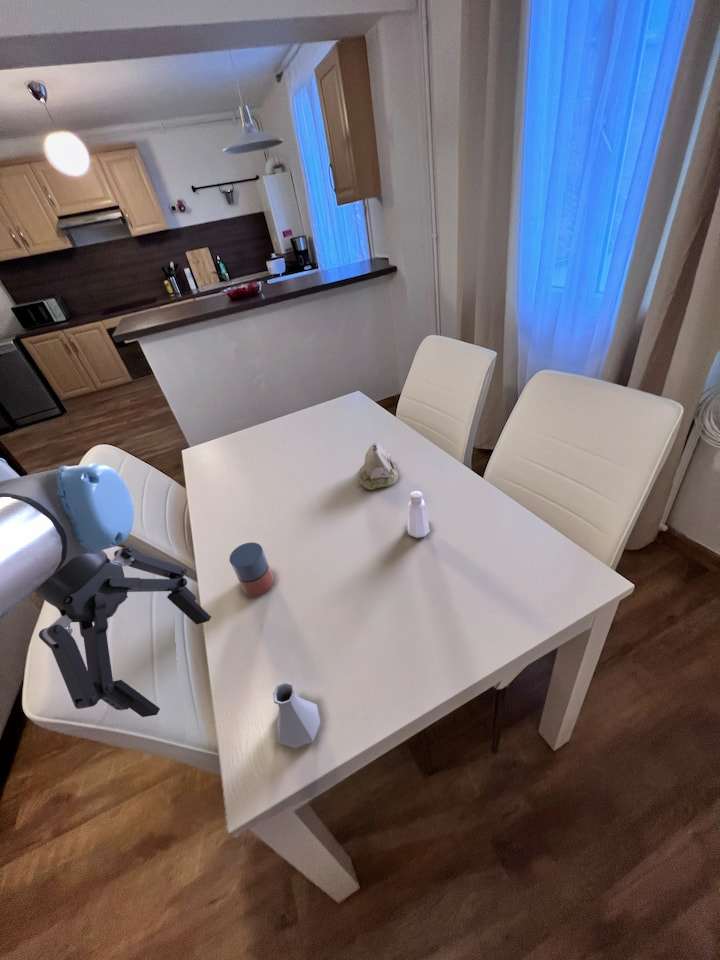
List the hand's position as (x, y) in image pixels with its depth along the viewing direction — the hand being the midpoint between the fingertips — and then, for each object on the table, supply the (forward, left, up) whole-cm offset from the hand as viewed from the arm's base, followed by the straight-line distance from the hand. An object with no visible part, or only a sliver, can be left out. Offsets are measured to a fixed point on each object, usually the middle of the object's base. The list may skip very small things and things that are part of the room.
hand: (180, 662), depth 55 cm
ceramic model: (+71, +1, -19) cm, 74 cm away
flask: (+4, -12, -19) cm, 23 cm away
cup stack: (+26, +12, -19) cm, 34 cm away
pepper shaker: (+52, -17, -19) cm, 58 cm away
